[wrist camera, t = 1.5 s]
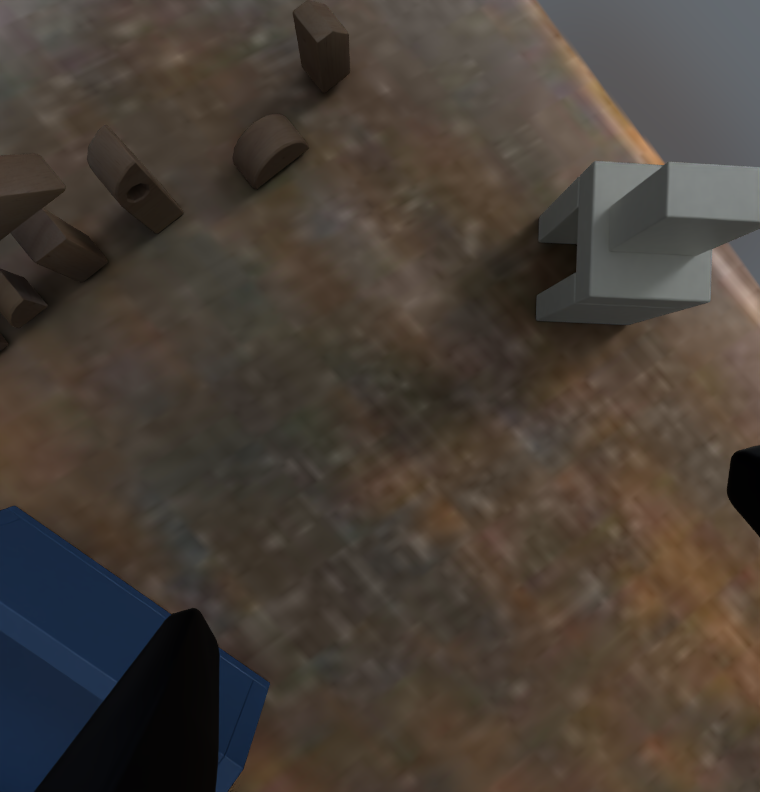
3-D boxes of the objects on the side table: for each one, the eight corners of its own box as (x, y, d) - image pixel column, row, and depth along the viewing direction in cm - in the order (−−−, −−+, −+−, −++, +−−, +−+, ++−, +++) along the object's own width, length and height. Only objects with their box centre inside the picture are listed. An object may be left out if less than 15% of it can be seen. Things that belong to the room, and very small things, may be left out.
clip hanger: (628, 325, 22) (793, 279, 14) (534, 320, 22) (644, 272, 14) (632, 221, 22) (798, 113, 14) (538, 216, 22) (649, 102, 14)
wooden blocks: (-175, 531, 21) (-479, 605, 13) (-221, 477, 20) (-552, 520, 13) (370, 104, 22) (375, -50, 14) (328, 52, 22) (312, -130, 14)
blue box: (270, 682, 21) (243, 769, 16) (126, 885, 21) (53, 1036, 16) (15, 504, 21) (-94, 537, 16) (-137, 708, 21) (-296, 806, 16)
